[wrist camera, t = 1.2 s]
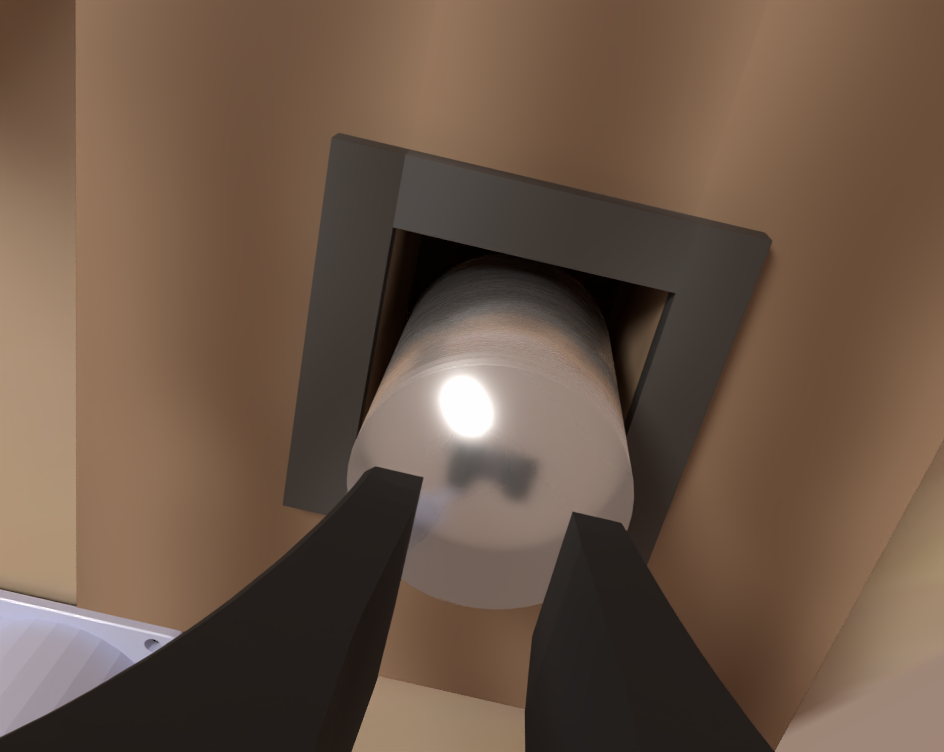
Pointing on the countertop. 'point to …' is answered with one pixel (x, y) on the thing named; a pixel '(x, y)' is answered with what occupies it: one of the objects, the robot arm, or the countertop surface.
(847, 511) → the walnut block
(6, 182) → the countertop surface
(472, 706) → the countertop surface
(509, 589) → the steel peg
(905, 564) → the countertop surface
